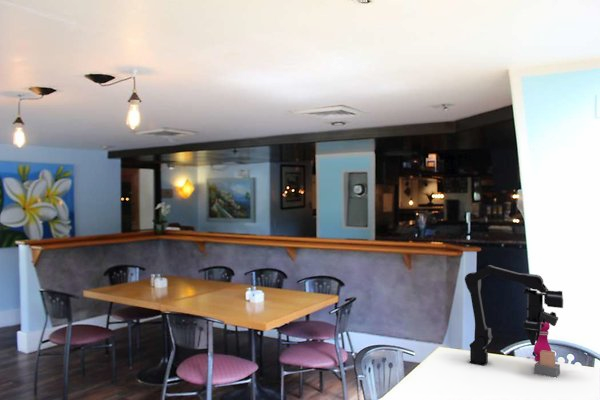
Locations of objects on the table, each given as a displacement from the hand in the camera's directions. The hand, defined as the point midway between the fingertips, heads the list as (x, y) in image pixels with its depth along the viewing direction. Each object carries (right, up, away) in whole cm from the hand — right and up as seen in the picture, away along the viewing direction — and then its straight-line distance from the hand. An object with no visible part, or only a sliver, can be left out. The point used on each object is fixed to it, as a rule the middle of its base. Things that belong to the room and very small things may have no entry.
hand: (534, 342), depth 197 cm
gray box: (+4, -12, -3) cm, 13 cm away
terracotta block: (+4, -8, -3) cm, 9 cm away
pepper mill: (+11, -13, +15) cm, 23 cm away
